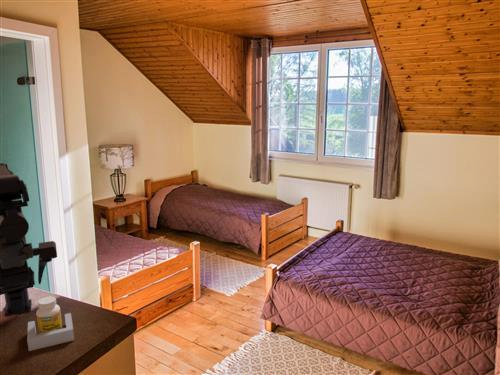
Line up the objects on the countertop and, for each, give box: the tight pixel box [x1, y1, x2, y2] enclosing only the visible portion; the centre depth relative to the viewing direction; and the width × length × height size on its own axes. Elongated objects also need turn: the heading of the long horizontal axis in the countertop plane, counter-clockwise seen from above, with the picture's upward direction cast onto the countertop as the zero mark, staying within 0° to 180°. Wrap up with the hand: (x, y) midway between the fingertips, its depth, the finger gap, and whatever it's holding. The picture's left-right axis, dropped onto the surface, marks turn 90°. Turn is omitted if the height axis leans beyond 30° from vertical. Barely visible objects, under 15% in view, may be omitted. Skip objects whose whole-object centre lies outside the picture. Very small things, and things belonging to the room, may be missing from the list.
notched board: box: [26, 312, 75, 352], centre depth 104 cm, size 8×10×3 cm
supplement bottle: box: [35, 296, 64, 334], centre depth 104 cm, size 5×5×10 cm
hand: (19, 287), depth 105 cm, fingers open, 9 cm apart
